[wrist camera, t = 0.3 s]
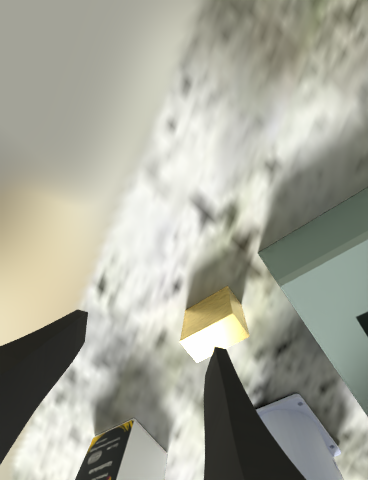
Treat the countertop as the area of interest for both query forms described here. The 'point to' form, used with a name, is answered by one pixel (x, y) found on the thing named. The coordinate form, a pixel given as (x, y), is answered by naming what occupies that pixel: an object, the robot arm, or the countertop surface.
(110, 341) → the countertop surface
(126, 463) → the medicine bottle
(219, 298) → the gold rectangular block
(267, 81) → the countertop surface
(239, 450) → the robot arm
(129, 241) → the countertop surface
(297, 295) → the box
